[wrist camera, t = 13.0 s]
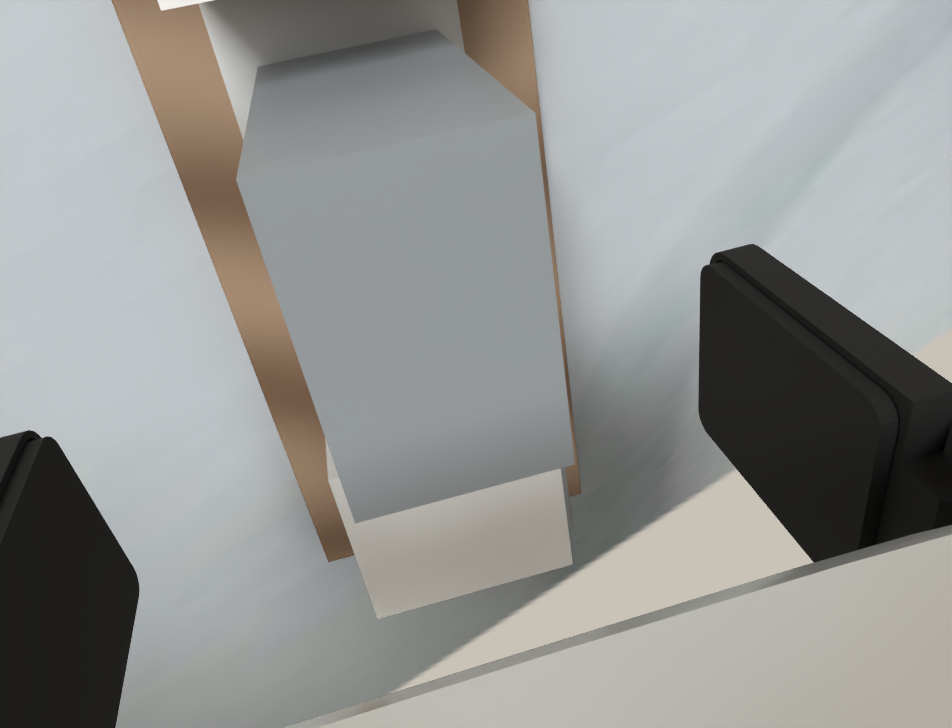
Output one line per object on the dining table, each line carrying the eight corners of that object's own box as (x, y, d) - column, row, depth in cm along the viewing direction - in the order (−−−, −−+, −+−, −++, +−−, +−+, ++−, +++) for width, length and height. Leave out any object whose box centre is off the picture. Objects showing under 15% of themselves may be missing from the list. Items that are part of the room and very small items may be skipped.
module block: (257, 66, 18) (235, 179, 11) (444, 27, 19) (548, 110, 11) (332, 313, 22) (354, 524, 15) (486, 276, 23) (584, 462, 15)
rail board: (-69, -505, 14) (-117, -560, 12) (450, -573, 15) (470, -633, 13) (327, 539, 29) (329, 578, 28) (571, 474, 30) (587, 507, 28)
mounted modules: (86, -336, 14) (2, -436, 10) (411, -387, 15) (460, -501, 11) (363, 505, 26) (377, 619, 22) (536, 459, 27) (582, 561, 23)
